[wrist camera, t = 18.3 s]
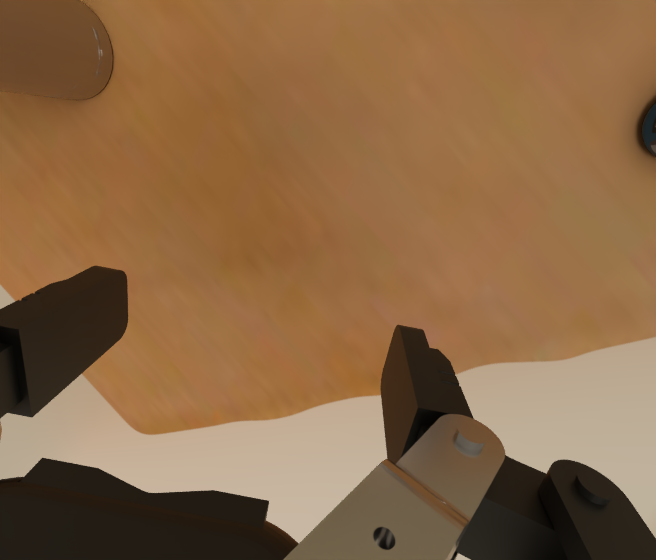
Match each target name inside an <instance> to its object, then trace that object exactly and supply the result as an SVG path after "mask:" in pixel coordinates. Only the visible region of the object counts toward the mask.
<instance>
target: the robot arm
mask: <svg viewBox="0 0 656 560" xmlns="http://www.w3.org/2000/svg"><path fill="white" fill-rule="evenodd" d="M112 62H113V56H112V48H111V44H110V40H109V37H108V34H107V32H106V30H105V28H104V26H103V24H102V23H101V21H100V20H99V19H98V17H97V16H96V14H95V13H94V12H93V11H92V10H91V9H90V8H89V7H88V6H87V5H85V4H84V3H82V2H81V1H79V0H0V91H1V92H10V93H19V94H28V95H37V96H45V97H54V98H63V99H72V100H84V99H88V98H91V97H93V96H95V95H96V94H98V93H99V92H100V91H101V90H102V89H103V88H104V87H105V86H106V84H107V82H108V80H109V78H110V75H111V71H112ZM127 323H128V294H127V276H126V274H125V272H123V271H121V270H116V269H111V268H106V267H101V266H92V267H90V268H88V269H87V270H85V271H83V272H81V273H79V274H77V275H75V276H73V277H71V278H69V279H67V280H63V281H59V282H55V283H51V284H49V285H47V286H45V287H43V288H41V289H39V290H37V291H36V292H35V294H33V293H32V294H30V295H28V296H26V297H24V298H22V300H21V301H20V300H18V301H16V302H14V303H12V304H10V305H8V306H6V307H4V308H2V309H0V418H1V417H3V416H4V415H5V414H6V413H12V414H17V415H22V416H27V417H33V416H34V415H35V414H36V413H38V412H39V411H40V410H41V409H42V408H43V407H44V406H45V405H47V404H48V403H49V402H50V401H51V400H52V399H53V398H54V397H56V396H57V395H58V394H59V393H60V392H61V391H62V390H63V389H65V388H66V387H67V386H68V385H69V384H70V383H71V382H72V381H74V380H75V379H76V378H77V377H78V376H79V375H80V374H81V373H83V372H84V371H85V370H86V369H87V368H88V367H89V366H90V365H92V364H93V363H94V362H95V361H96V360H97V359H98V358H99V357H101V356H102V355H103V354H104V353H105V352H106V351H107V350H108V349H110V348H111V347H112V346H113V345H114V344H115V343H116V342H117V341H119V340H120V339H121V337H122V336H123V334H124V332H125V330H126V327H127ZM381 398H382V408H383V417H384V428H385V438H386V448H387V458H388V459H386V460H384V461H382V462H381V463H380V464H379V465H378V466H377V467H376V468H375V469H374V470H373V471H372V472H371V473H370V474H369V475H368V476H367V477H366V478H365V479H364V480H363V481H362V482H361V483H360V484H359V485H358V486H357V487H356V488H355V489H354V490H353V491H352V492H351V493H350V494H349V495H348V496H347V497H346V498H345V499H344V500H343V501H342V502H341V503H340V504H339V505H338V506H337V507H336V508H335V509H334V510H333V511H332V512H330V514H328V515H327V516H326V518H324V520H322V521H321V522H320V523H319V524H318V526H317V527H315V528H314V529H313V531H311V532H310V533H309V534H308V535H307V536H306V537H305V538H304V539H303V540H302V541H301V542H300V543H297V542H296V541H295V540H294V539H293V538H292V537H291V536H289V535H288V534H287V533H286V532H284V531H283V530H281V529H280V528H278V527H277V526H275V525H273V524H272V523H270V522H268V521H266V516H267V511H268V505H269V501H267V500H261V499H256V498H251V497H245V496H240V495H235V494H230V493H225V492H219V491H214V490H211V491H190V492H169V493H148V492H145V491H142V490H140V489H138V488H136V487H134V486H132V485H130V484H128V483H126V482H124V481H122V480H120V479H118V478H116V477H114V476H112V475H110V474H108V473H106V472H104V471H102V470H100V469H99V468H94V467H88V466H83V465H78V464H73V463H67V462H62V461H57V460H51V459H46V458H42V459H41V460H40V461H39V462H38V463H37V464H36V465H35V466H34V467H33V468H32V469H31V470H30V471H29V473H27V475H26V476H25V477H16V478H9V479H2V480H0V560H455V559H456V557H457V555H458V554H459V553H460V554H461V555H463V556H465V557H467V558H469V559H471V560H656V538H655V537H654V536H653V534H652V533H651V531H650V530H649V528H648V527H647V525H646V524H645V522H644V521H643V519H642V518H641V517H640V515H639V514H638V512H637V511H636V509H635V508H634V506H633V505H632V503H631V502H630V501H629V499H628V498H627V497H626V495H625V494H624V493H623V492H622V491H621V490H620V489H619V488H618V487H617V486H616V485H615V484H614V483H613V482H612V481H610V480H609V479H608V478H606V477H605V476H604V475H602V474H601V473H599V472H597V471H596V470H594V469H592V468H590V467H588V466H586V465H584V464H581V463H579V462H575V461H571V460H558V461H556V462H554V463H553V464H552V465H551V467H550V468H549V470H548V472H547V474H546V473H543V472H541V471H538V470H536V469H534V468H532V467H529V466H527V465H525V464H522V463H520V462H518V461H516V460H514V459H511V458H509V457H508V456H506V455H505V450H504V447H503V445H502V443H501V441H500V439H499V438H498V437H497V436H496V435H495V434H494V433H493V432H492V431H491V430H490V429H489V428H488V427H486V426H485V425H483V424H482V423H480V422H478V421H477V420H475V419H474V418H473V416H472V414H471V411H470V409H469V406H468V404H467V401H466V399H465V397H464V394H463V392H462V389H461V387H460V386H459V382H458V380H457V377H456V376H455V372H454V370H453V367H452V365H451V363H450V361H449V360H448V359H447V358H446V357H445V356H444V355H443V354H442V353H441V352H440V351H439V350H438V349H433V348H429V345H428V342H427V339H426V336H425V333H424V331H423V330H422V329H417V328H412V327H407V326H402V325H397V326H396V328H395V330H394V333H393V337H392V340H391V344H390V347H389V351H388V354H387V358H386V361H385V365H384V368H383V372H382V378H381ZM1 430H2V429H1V422H0V438H1Z"/></svg>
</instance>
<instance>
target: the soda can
mask: <svg viewBox="0 0 656 560" xmlns="http://www.w3.org/2000/svg"><path fill="white" fill-rule="evenodd" d="M642 136H643V140H644V143H645V145H646V147H647V148H648V150H649V151H650V152H651V153H652V154H653V155H654V156H656V103H655V104H654V105H653V106H652V107H651V109H650V110H649V111H648V113H647V115H646V117H645V119H644V122H643V126H642Z"/></svg>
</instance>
